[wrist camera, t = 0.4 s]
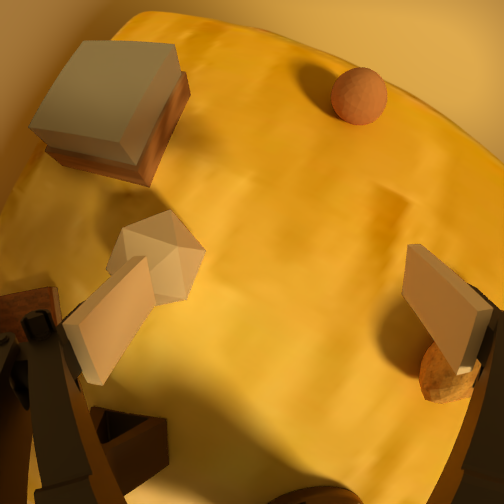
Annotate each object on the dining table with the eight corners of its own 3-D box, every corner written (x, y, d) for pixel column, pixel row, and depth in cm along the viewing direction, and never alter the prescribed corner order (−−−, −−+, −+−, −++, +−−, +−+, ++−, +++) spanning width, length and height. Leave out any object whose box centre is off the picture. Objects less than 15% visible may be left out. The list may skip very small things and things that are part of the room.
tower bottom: (150, 188, 33) (137, 171, 28) (64, 166, 33) (44, 150, 28) (191, 96, 35) (185, 71, 30) (106, 84, 35) (94, 63, 30)
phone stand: (167, 418, 29) (134, 472, 17) (169, 463, 28) (143, 524, 16) (92, 405, 29) (37, 443, 17) (97, 449, 28) (50, 496, 16)
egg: (316, 119, 35) (334, 78, 27) (334, 86, 36) (352, 46, 28) (363, 144, 35) (391, 109, 26) (378, 110, 35) (403, 74, 27)
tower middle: (136, 165, 28) (119, 142, 23) (50, 146, 28) (28, 127, 23) (181, 74, 30) (174, 44, 25) (97, 65, 30) (83, 40, 25)
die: (125, 230, 32) (74, 275, 24) (176, 182, 29) (127, 219, 21) (173, 284, 35) (137, 341, 26) (229, 246, 31) (202, 303, 23)
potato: (481, 381, 31) (528, 393, 21) (397, 396, 30) (442, 421, 21) (488, 308, 32) (538, 307, 23) (406, 311, 32) (457, 313, 22)
